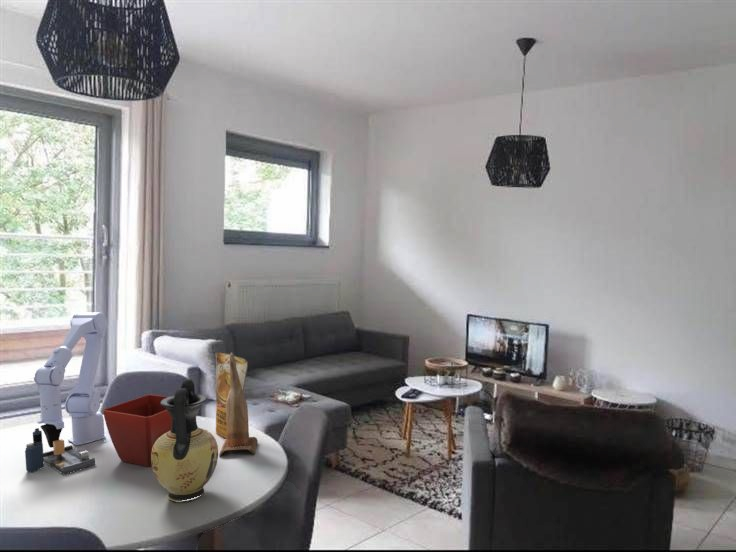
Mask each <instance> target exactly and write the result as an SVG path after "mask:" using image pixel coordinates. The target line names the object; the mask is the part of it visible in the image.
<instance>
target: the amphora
mask: <svg viewBox="0 0 736 552" xmlns="http://www.w3.org/2000/svg"><path fill="white" fill-rule="evenodd" d="M195 391H196V389H195V383H194V381H193V379H189V378H187V379H184V380H183V381H182V382H181V386H180V388H177V389H176V390H175V392H174V395H171V396H166V397H167V398H165V399H163V400H162V401H161V403H160V404H161V405H162V406H163V407H166V408H167V412H168V413H169V414H170V415H171V417H172V426H171V430H170V431H169V432H167V433H165V434H163V435H162V436H160V437H159V438H158V439H157V440H156V442H155V444H154V445H153V448H152V452H151V464H152V466H151V469H152V472H153V474H154V477H155V478H156V480H157V481H158V483H159V484H160V486H161V487H163V488H164V489H165V490H167V491H168V493H167V499H168V500H169V499H170V500H172V501H182V500H187V499H191V498H194V497H197V496H200V495H202V494H203V493H204V494H205V488H204V487H205V485H206V484H208V482H210V480H211V478H212V476H213V475H214V472H215V470H216V467H217V465H218V460H219V459H218V458H219V446H218V442H217V440H216V438H215V436H214V435H213V434H212V432H210V431H208V430H207V429H204V428H201V427H199V426H198V424H197V423H198V422H197V414H198V412H199V411H200V409H201V407H202V404H204V403H205V402H206V401H207V397H206V396H205V395H203V394H199V393H195ZM204 494H203V495H204ZM203 495H202V496H203ZM170 500H169V501H170ZM172 501H171V502H172Z"/></svg>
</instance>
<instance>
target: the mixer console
mask: <svg viewBox="0 0 736 552" xmlns="http://www.w3.org/2000/svg"><path fill="white" fill-rule="evenodd" d="M43 458H44V463H46V464H47V465H48V466H50V467H51V468H53V469H54V470H56V471H57V470H58V471H57V472H59V473H60V472H61V474H62V475H63V474H65V475H68V474H71V473H70V472H72V473H74V472H73V471H75V472H77V470H78V471H81V470H84V468H85V469H87V468H91V467H94V466H96V458H95V457H93V458H90V453H89V451H88V450H83V451H78V450H76V449H75V448H74V447H73V444H71V445H70V444H69V445H68V446H65V453H63V454H62V457H58V456H57V455H54V449H52V450H49V451H45V452H43ZM80 469H81V470H80ZM67 473H68V474H67Z"/></svg>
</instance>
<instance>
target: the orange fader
mask: <svg viewBox="0 0 736 552" xmlns="http://www.w3.org/2000/svg"><path fill="white" fill-rule="evenodd" d="M65 447H66V445H65V439H62V438H61V439H59V440H57V441H53V447H52V450H54V455H57V456H58V457H62V454H63V453H65Z"/></svg>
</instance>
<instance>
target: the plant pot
mask: <svg viewBox="0 0 736 552" xmlns="http://www.w3.org/2000/svg"><path fill="white" fill-rule="evenodd" d="M167 397H168V396H165V395H160V394H159V395H158V394H146V395H143V396H140V397H137V398H134V399H130V400H128V401H125V402H122V403H117V404H114V405H113V406H110V407H107V408H104V409H103V410H102V412H103V413H102V414H103V419H104V423H105V425H106V429H107V431H108V435H109V437H110V441H111V443H112V444H113V447H114V450H115V452H116V454H117V456H118V458H119V459H120V461H121V462H125V463H129V464H134V465H138V466H144V467H147V468H148V467H152V464H151V452H152V448H153V445H154V444H155V442H156V440H157V439H158V438H159V437H160V436H162V435H163V434H165V433H167V432H169V431H170V430H171V426H172V417H171V415H170V414H169V413H168V412H167V408H166V407H163V406H162V405H161V404H160V403H161V401H162V400H163V399H165V398H167Z"/></svg>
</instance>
